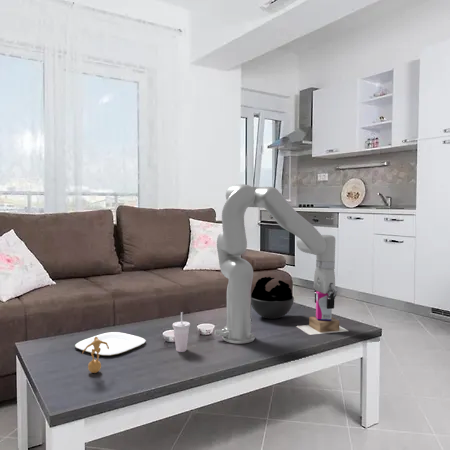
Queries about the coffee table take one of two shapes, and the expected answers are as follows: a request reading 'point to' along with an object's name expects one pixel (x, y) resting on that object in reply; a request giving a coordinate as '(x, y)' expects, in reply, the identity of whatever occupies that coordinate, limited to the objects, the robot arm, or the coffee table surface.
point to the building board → (312, 331)
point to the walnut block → (324, 324)
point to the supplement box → (322, 307)
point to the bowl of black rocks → (271, 299)
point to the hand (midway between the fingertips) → (324, 305)
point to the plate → (112, 343)
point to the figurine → (95, 364)
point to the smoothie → (181, 334)
